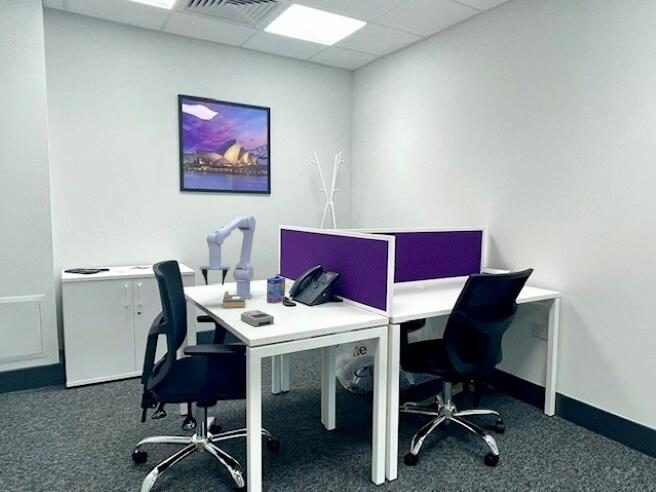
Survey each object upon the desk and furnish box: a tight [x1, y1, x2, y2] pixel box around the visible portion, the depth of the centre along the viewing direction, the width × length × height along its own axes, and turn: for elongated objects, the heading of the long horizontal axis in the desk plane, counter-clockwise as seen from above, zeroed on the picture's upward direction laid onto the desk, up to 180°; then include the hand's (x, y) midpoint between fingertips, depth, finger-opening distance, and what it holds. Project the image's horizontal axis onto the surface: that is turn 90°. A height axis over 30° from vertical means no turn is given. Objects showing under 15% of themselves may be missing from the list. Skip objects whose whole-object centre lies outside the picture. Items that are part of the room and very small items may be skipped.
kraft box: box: [222, 300, 246, 309], centre depth 222 cm, size 12×10×3 cm
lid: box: [222, 290, 246, 302], centre depth 221 cm, size 12×10×3 cm
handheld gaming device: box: [240, 309, 275, 327], centre depth 192 cm, size 9×15×4 cm, turn 38°
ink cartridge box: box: [266, 273, 286, 304], centre depth 231 cm, size 10×6×14 cm, turn 152°
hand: (214, 284), depth 218 cm, fingers open, 7 cm apart
